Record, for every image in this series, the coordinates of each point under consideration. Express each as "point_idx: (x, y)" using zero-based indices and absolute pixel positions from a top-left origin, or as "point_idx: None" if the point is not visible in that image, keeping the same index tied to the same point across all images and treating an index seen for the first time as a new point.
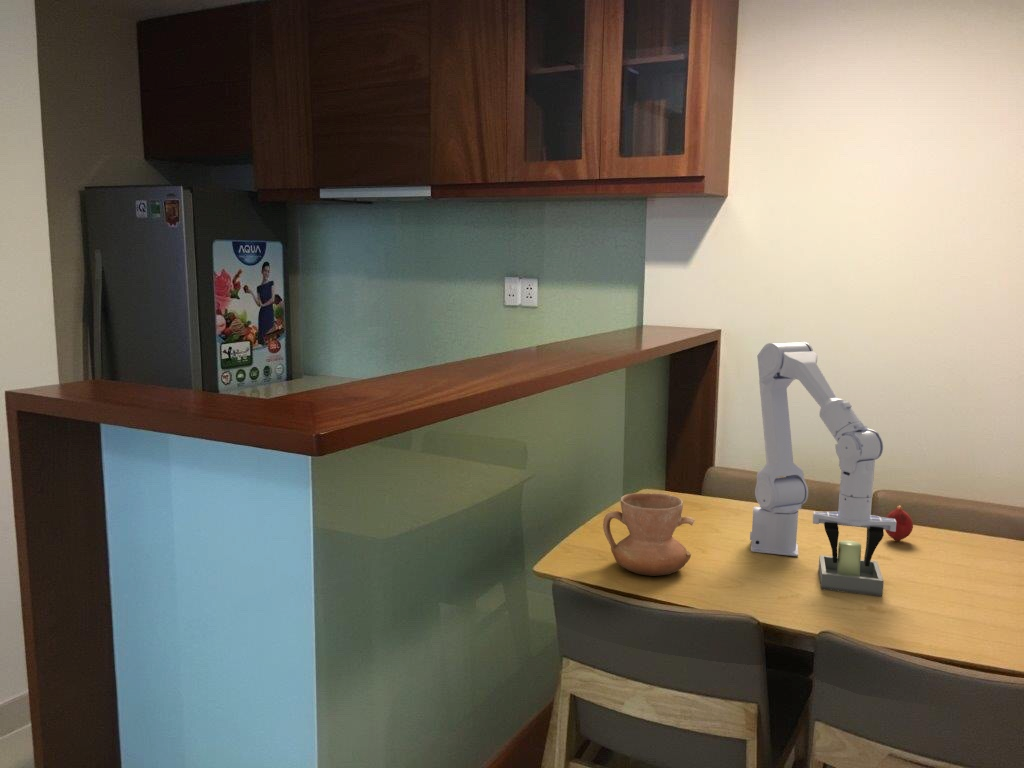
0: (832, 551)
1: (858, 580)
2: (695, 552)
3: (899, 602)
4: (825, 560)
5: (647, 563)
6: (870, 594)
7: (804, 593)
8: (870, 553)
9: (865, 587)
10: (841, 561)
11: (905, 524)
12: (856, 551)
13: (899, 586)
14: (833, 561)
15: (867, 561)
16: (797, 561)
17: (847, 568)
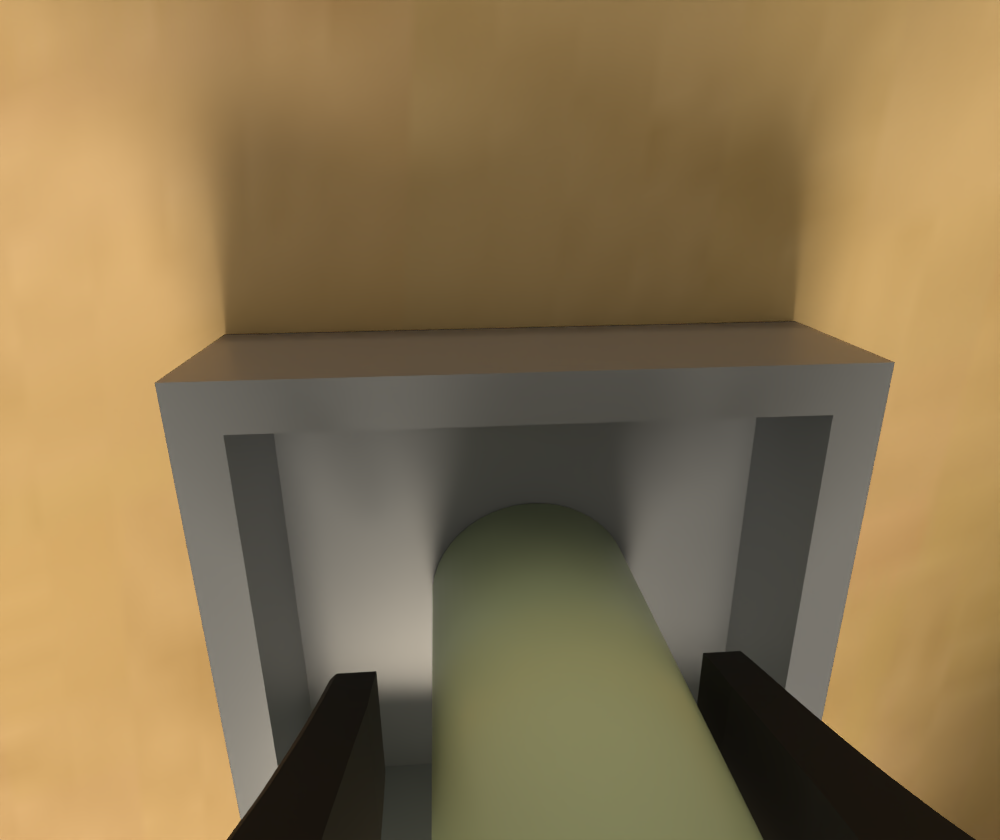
0: (854, 751)
1: (464, 362)
2: None
3: (48, 231)
4: None
5: None
6: (338, 335)
7: (983, 147)
8: (281, 814)
9: (384, 345)
10: (668, 660)
11: None
12: (512, 801)
13: (92, 636)
14: (749, 661)
15: (343, 709)
16: None
17: (581, 588)
